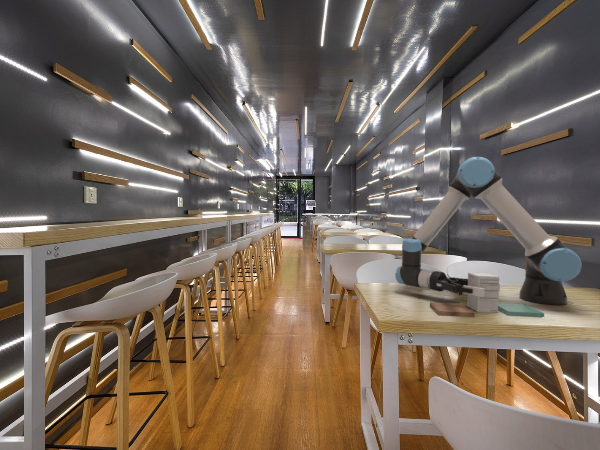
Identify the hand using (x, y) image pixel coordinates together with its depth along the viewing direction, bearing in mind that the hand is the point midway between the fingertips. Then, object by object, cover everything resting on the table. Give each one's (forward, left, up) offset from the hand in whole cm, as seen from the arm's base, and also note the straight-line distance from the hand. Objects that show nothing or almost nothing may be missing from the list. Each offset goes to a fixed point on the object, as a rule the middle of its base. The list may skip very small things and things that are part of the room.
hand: (492, 290), depth 111 cm
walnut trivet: (+14, +2, -8) cm, 16 cm away
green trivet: (-9, -1, -8) cm, 12 cm away
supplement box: (+2, -2, -8) cm, 8 cm away
